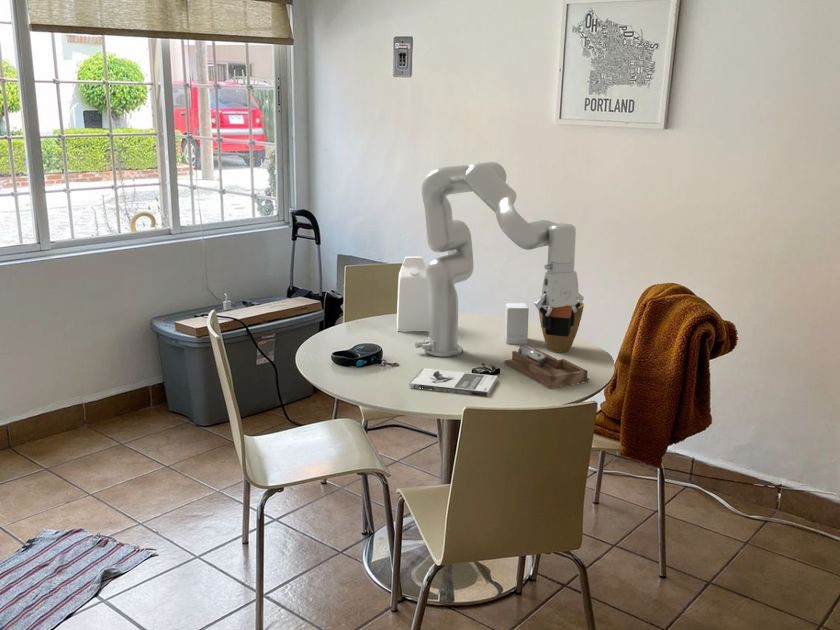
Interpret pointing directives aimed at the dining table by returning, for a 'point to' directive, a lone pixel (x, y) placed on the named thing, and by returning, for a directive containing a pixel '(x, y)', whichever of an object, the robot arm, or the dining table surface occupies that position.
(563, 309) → the battery
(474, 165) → the robot arm
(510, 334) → the supplement box
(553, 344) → the plant pot
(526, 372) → the tray
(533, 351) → the shaft
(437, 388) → the book
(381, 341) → the dining table surface
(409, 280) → the milk
